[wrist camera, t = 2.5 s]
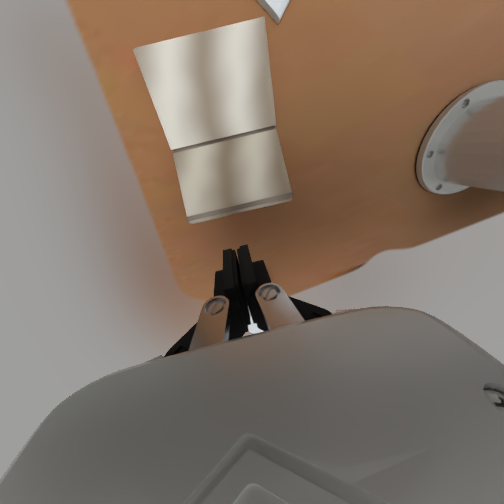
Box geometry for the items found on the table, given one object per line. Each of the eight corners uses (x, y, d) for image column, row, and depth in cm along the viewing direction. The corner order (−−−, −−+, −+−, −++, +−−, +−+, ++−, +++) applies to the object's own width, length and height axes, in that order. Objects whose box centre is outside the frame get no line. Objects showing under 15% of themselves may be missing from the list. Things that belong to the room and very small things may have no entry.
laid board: (262, 24, 17) (264, 16, 16) (274, 132, 21) (276, 131, 20) (138, 54, 17) (132, 48, 16) (176, 155, 21) (173, 155, 20)
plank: (275, 135, 21) (276, 127, 20) (290, 200, 21) (293, 196, 20) (177, 159, 22) (172, 152, 20) (191, 223, 21) (187, 221, 20)
